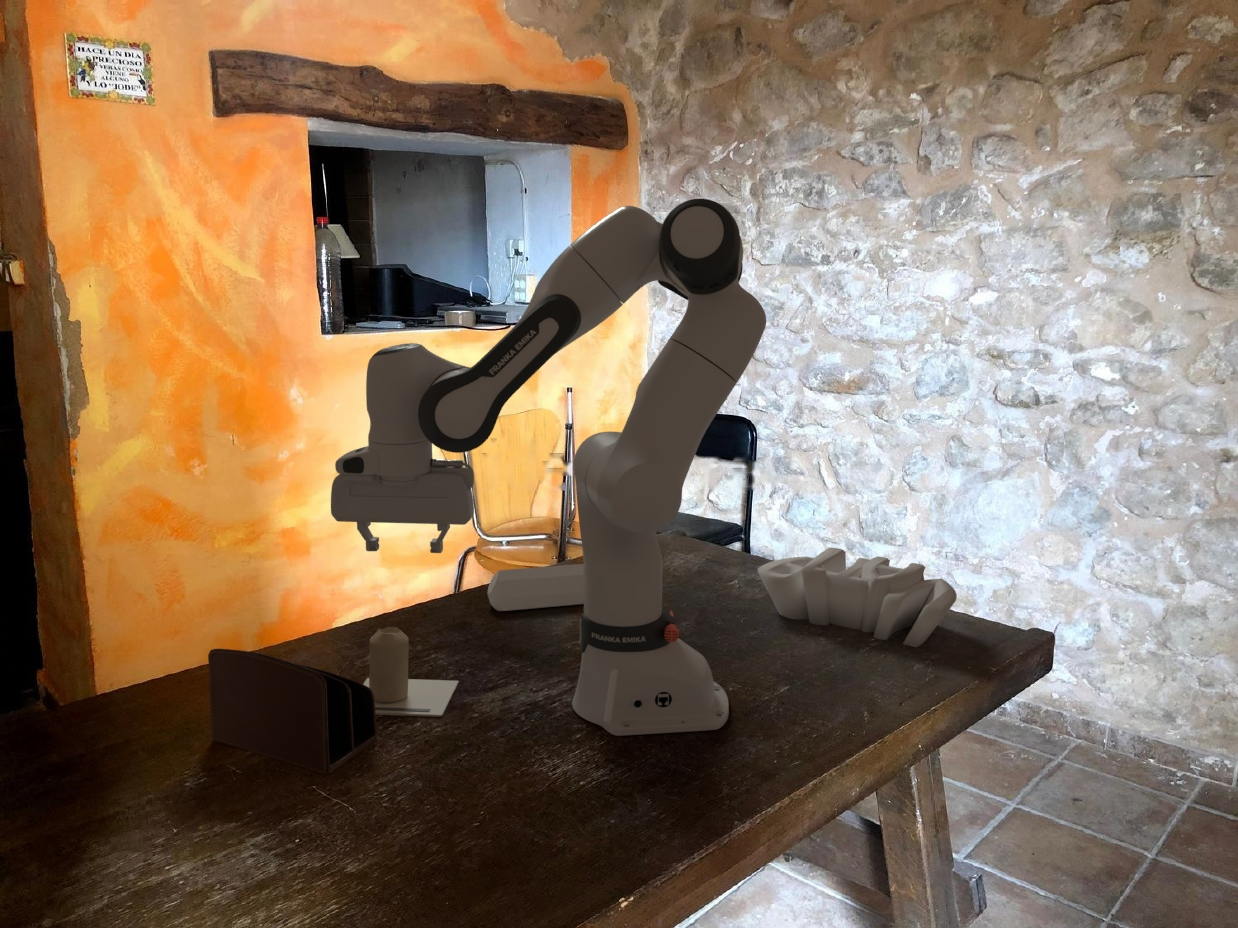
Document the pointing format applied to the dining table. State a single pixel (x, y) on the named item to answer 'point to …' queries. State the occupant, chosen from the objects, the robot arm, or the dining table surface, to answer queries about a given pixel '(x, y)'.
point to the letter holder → (289, 710)
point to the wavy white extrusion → (858, 594)
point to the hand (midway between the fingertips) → (404, 551)
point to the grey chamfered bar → (537, 587)
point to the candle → (388, 664)
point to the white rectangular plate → (420, 699)
